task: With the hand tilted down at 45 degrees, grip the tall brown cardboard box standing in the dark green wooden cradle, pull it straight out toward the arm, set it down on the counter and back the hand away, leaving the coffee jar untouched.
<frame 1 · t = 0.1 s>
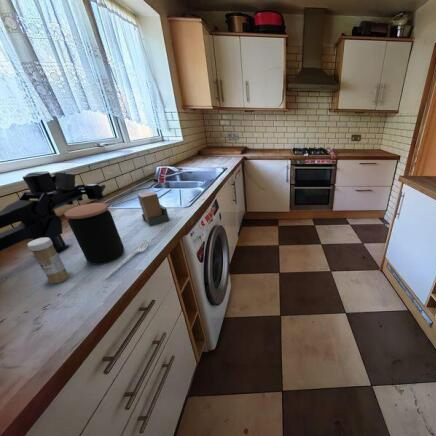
hand: (94, 185, 97), 17 cm above the table, tool horizontal, fingers open, 9 cm apart
brown box: (154, 220, 104), on the table
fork: (129, 260, 77), on the table
sprinkles bottle: (60, 279, 69), on the table
cradle: (154, 220, 104), on the table
coffee jar: (107, 256, 79), on the table
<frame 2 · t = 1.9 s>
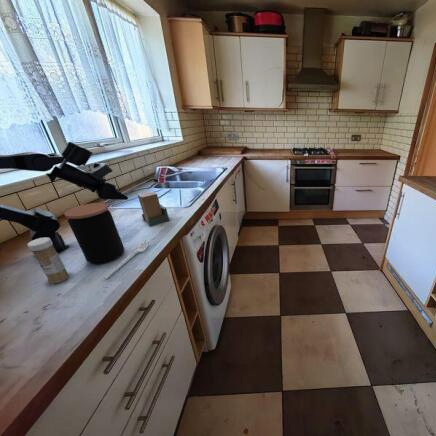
hand: (124, 196, 93), 14 cm above the table, tool tilted 45°, fingers open, 9 cm apart
nothing on the table moved.
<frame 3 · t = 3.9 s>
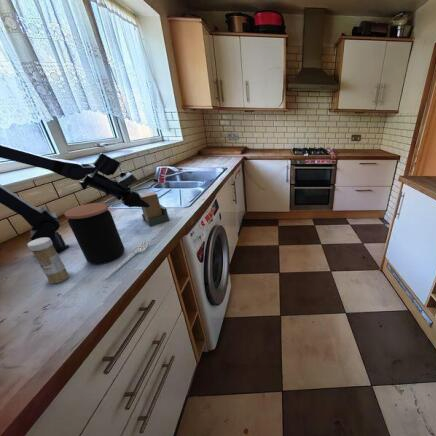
hand: (145, 203, 99), 9 cm above the table, tool tilted 45°, fingers open, 9 cm apart
nothing on the table moved.
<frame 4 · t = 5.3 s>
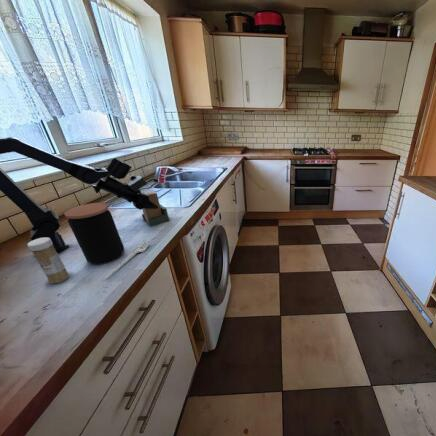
hand: (154, 205, 102), 7 cm above the table, tool tilted 45°, fingers closed on brown box, 7 cm apart
brown box: (154, 220, 104), on the table, touching gripper
everything else where it was.
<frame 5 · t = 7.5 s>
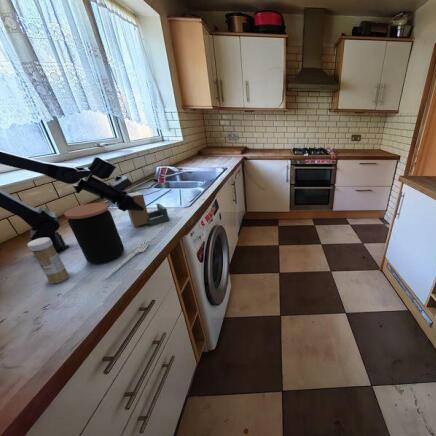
hand: (140, 207, 98), 8 cm above the table, tool tilted 45°, fingers closed on brown box, 7 cm apart
brown box: (140, 222, 100), point 1 cm above the table, touching gripper
everything else where it was.
when the fingers open (7 cm above the table, at t = 9.7 s): brown box stays where it is, on the table.
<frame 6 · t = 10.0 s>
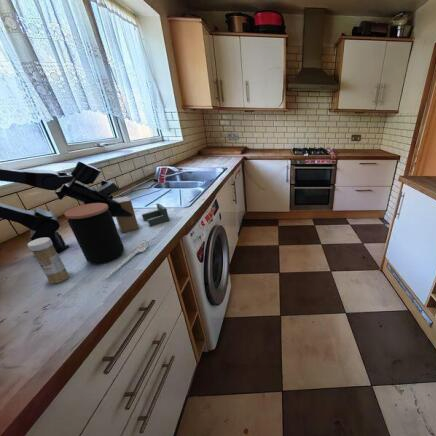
hand: (128, 212, 96), 7 cm above the table, tool tilted 45°, fingers open, 9 cm apart
brown box: (129, 227, 97), on the table, touching gripper
everything else where it was.
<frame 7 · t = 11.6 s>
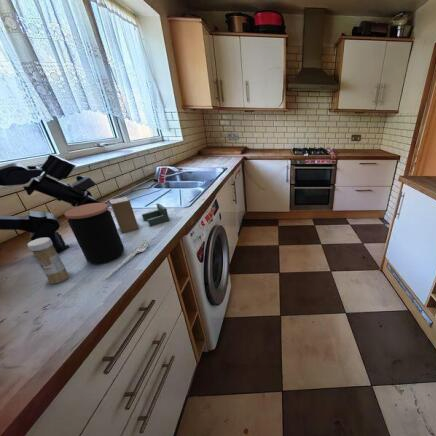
hand: (107, 209, 90), 10 cm above the table, tool tilted 45°, fingers open, 9 cm apart
brown box: (129, 228, 98), on the table
everything else where it was.
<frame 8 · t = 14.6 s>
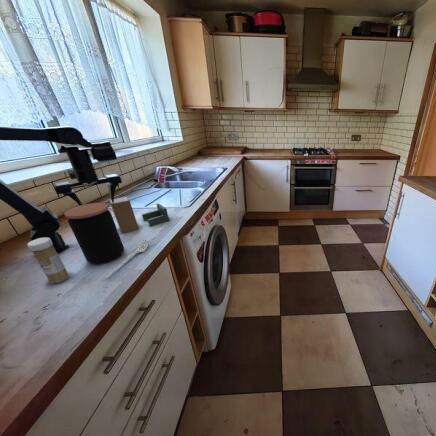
hand: (98, 204, 87), 13 cm above the table, tool pointing down, fingers open, 9 cm apart
brown box: (129, 228, 98), on the table, touching gripper
everything else where it was.
at the end: brown box inside the target area on the table beside the cradle (0.4 cm from its centre), on the table; brown box tilted 0°; coffee jar moved 0.2 cm from its start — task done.
